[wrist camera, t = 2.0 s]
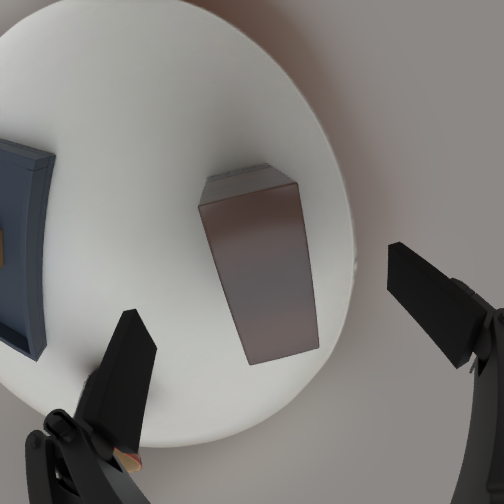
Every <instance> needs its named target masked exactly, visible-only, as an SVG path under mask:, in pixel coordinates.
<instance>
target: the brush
mask: <svg viewBox="0 0 504 504" xmlns="http://www.w3.org/2000/svg"><path fill="white" fill-rule="evenodd" d="M198 210H199V213H200V217H201V220H202V223H203V227H204V230H205V233H206V237H207V240H208V243H209V247H210V250H211V253H212V256H213V259H214V263H215V266H216V269H217V272H218V275H219V278H220V281H221V284H222V287H223V291H224V294H225V297H226V300H227V303H228V306H229V309H230V312H231V315H232V317H233V320H234V323H235V326H236V329H237V332H238V335H239V338H240V341H241V343H242V346H243V349H244V352H245V355H246V358H247V360H248V363H249V365H254V364H259V363H263V362H267V361H272V360H276V359H280V358H284V357H288V356H291V355H295V354H299V353H303V352H306V351H310V350H313V349H317V348H319V337H318V326H317V316H316V307H315V298H314V289H313V281H312V273H311V265H310V258H309V251H308V244H307V237H306V230H305V224H304V217H303V211H302V205H301V199H300V193H299V188H298V183H297V182H296V181H294V180H293V179H291V178H289V177H288V176H286V175H285V174H283V173H282V172H280V171H279V170H277V169H275V168H274V167H273V166H271V165H269V164H268V163H267V164H262V165H258V166H253V167H249V168H245V169H241V170H236V171H232V172H228V173H224V174H220V175H216V176H213V177H209V178H207V181H206V184H205V187H204V190H203V193H202V196H201V199H200V202H199V205H198Z"/></svg>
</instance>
